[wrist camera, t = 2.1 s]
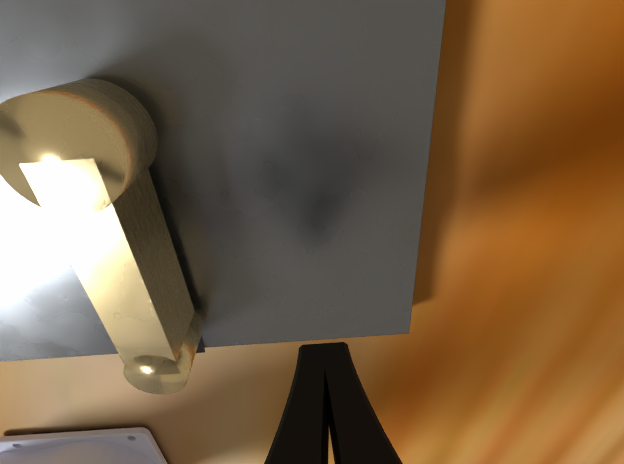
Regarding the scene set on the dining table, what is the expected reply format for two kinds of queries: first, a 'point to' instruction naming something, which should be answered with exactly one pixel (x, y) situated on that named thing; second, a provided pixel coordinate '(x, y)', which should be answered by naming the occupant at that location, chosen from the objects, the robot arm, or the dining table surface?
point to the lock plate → (241, 161)
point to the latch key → (106, 218)
